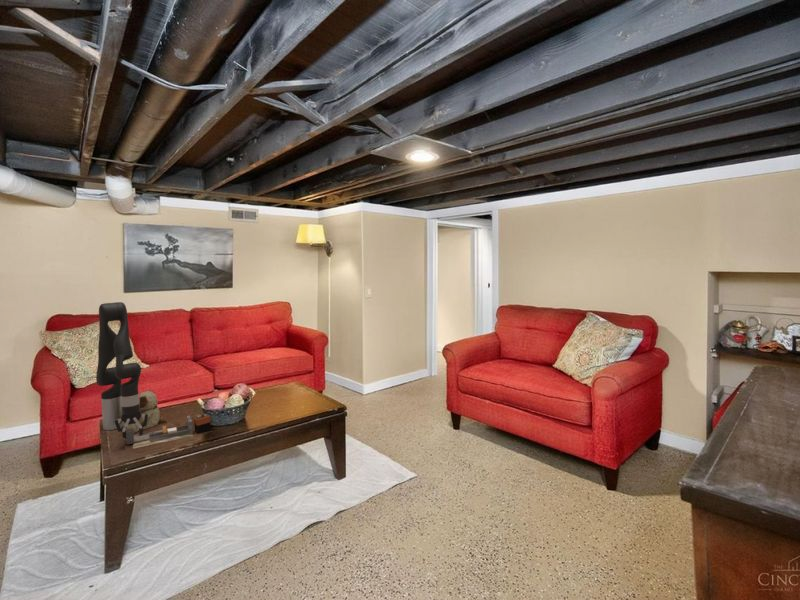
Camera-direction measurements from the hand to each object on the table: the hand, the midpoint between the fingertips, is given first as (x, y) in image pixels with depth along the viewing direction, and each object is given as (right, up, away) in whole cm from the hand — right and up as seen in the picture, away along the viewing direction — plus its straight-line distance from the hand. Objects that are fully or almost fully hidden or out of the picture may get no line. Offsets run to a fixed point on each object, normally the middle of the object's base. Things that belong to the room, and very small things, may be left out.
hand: (133, 436), depth 198 cm
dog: (-8, -3, +24) cm, 25 cm away
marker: (+14, -2, +10) cm, 17 cm away
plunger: (+5, -3, +4) cm, 7 cm away
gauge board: (+11, -4, +8) cm, 14 cm away
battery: (+27, -3, +15) cm, 31 cm away
